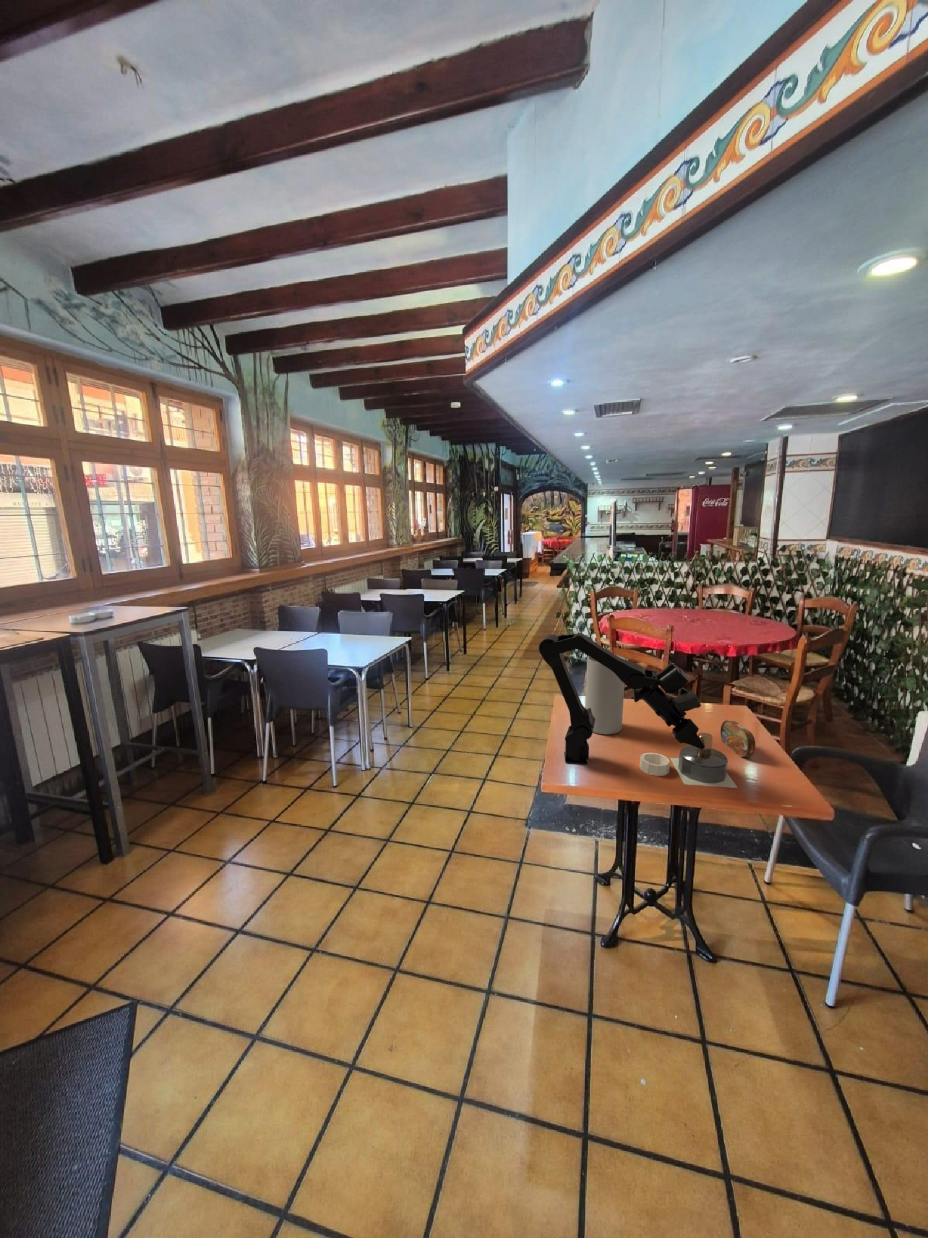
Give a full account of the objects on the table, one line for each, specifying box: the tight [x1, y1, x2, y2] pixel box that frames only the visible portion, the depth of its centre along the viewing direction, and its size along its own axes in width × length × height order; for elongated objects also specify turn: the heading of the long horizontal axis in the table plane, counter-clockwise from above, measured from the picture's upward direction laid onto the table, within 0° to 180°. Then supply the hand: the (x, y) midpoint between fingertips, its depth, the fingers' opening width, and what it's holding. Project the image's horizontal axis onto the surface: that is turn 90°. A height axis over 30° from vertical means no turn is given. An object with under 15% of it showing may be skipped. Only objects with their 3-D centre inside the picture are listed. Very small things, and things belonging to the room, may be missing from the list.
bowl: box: [639, 752, 671, 777], centre depth 142 cm, size 8×8×4 cm
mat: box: [669, 757, 738, 789], centre depth 140 cm, size 14×15×1 cm
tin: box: [720, 719, 756, 758], centre depth 152 cm, size 15×3×8 cm, turn 1°
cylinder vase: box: [584, 654, 627, 736], centre depth 168 cm, size 12×12×25 cm
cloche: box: [678, 732, 729, 783], centre depth 139 cm, size 12×12×11 cm
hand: (698, 740), depth 138 cm, fingers open, 9 cm apart
